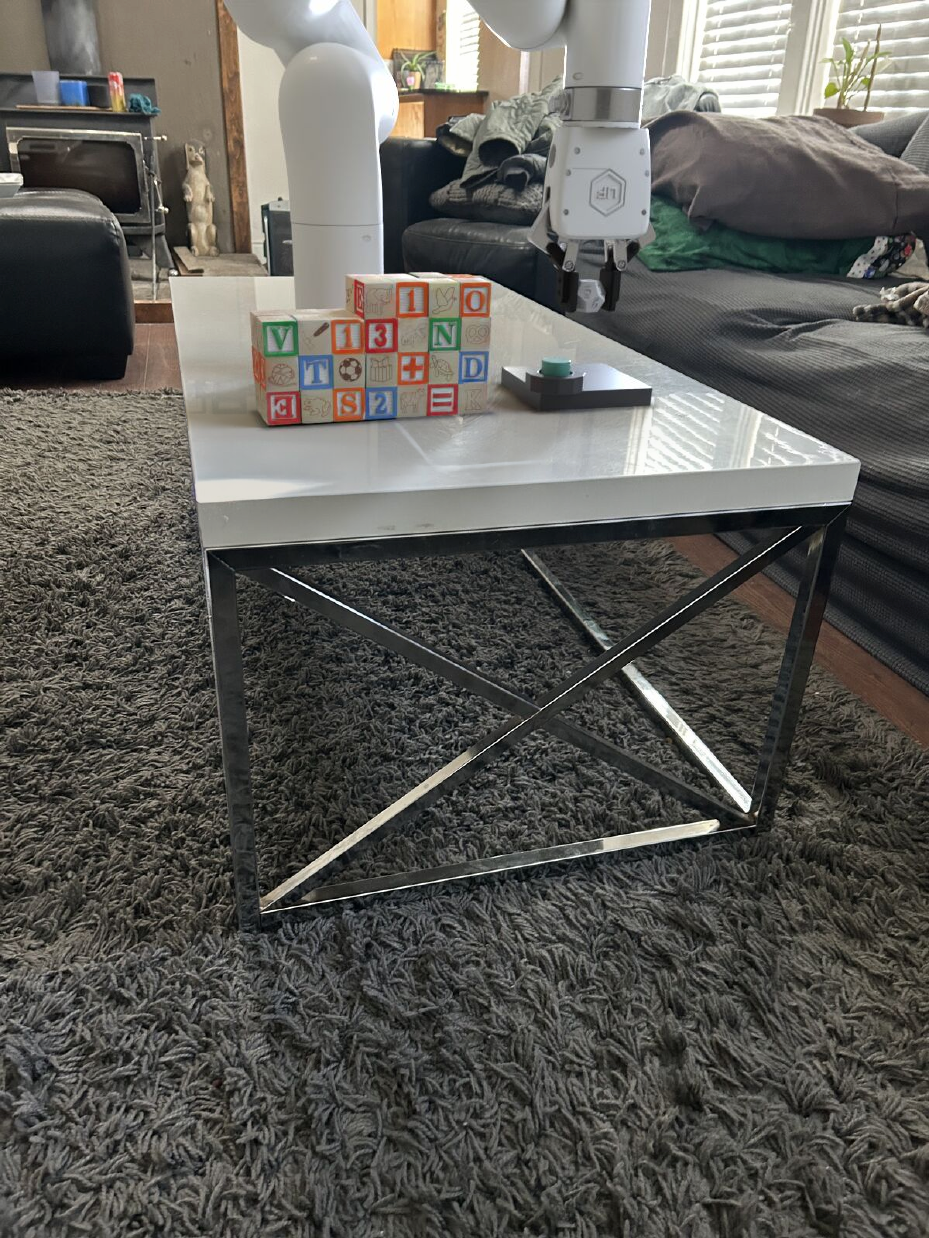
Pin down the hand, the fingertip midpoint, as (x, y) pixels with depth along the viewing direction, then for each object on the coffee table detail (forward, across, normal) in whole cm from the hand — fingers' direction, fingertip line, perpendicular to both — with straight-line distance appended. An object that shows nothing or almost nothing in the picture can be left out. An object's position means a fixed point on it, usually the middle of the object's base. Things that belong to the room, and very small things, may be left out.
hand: (587, 308), depth 100 cm
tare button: (+5, -6, -7) cm, 11 cm away
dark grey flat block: (+8, -2, -3) cm, 9 cm away
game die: (0, 0, 0) cm, 0 cm away
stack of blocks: (+8, -24, -6) cm, 26 cm away
